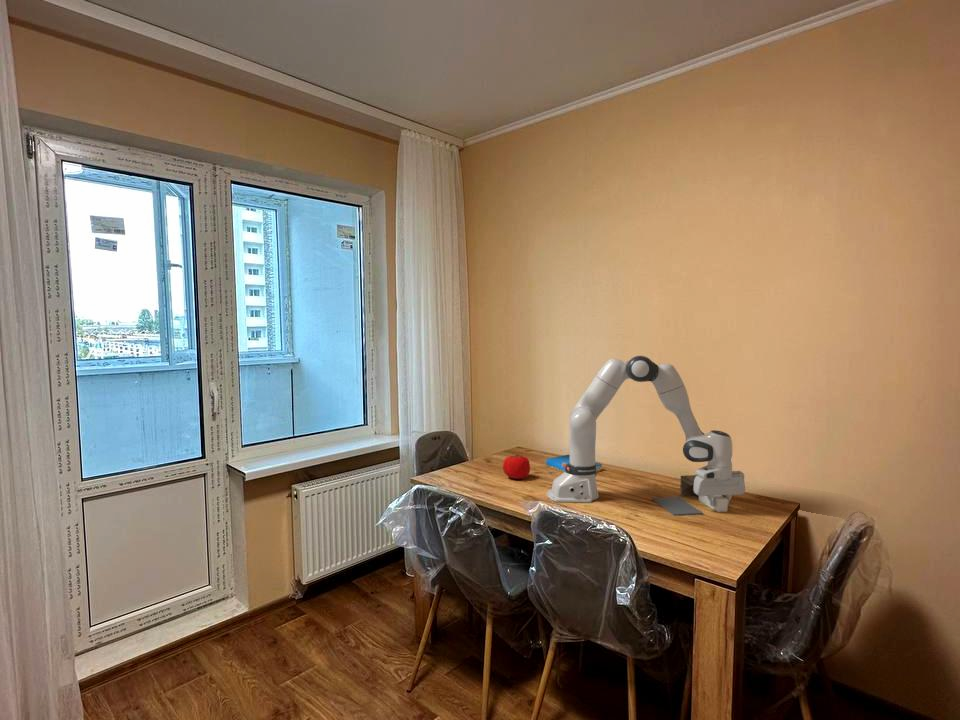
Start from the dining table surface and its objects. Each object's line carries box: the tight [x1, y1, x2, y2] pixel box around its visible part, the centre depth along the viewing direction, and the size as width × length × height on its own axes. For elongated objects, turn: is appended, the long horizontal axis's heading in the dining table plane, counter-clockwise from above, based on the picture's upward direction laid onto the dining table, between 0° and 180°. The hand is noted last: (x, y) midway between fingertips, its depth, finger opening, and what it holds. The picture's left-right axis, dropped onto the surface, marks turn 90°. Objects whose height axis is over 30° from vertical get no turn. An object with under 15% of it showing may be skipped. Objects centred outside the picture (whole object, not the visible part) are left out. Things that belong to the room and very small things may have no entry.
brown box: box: [679, 474, 698, 496], centre depth 214 cm, size 12×9×8 cm
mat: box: [651, 496, 704, 516], centre depth 203 cm, size 12×19×1 cm, turn 6°
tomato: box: [502, 454, 531, 480], centre depth 245 cm, size 12×13×12 cm
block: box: [698, 495, 729, 513], centre depth 204 cm, size 4×14×5 cm, turn 6°
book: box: [545, 454, 603, 472], centre depth 263 cm, size 17×4×25 cm
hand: (719, 505), depth 199 cm, fingers closed on block, 4 cm apart
